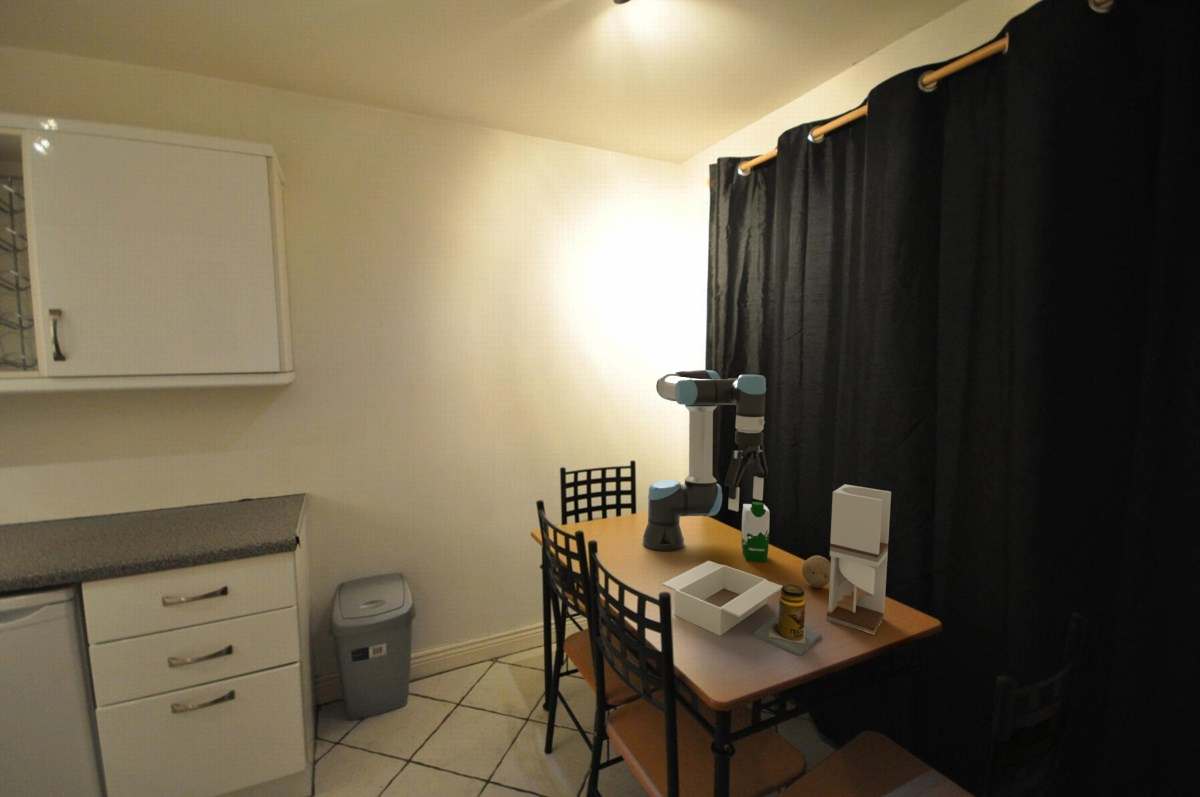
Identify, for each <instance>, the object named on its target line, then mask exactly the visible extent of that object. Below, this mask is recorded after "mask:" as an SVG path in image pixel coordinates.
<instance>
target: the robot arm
mask: <svg viewBox="0 0 1200 797" xmlns="http://www.w3.org/2000/svg"><path fill="white" fill-rule="evenodd" d="M737 377H738V378H737ZM737 377H736V378H734V377H731V378H725V379H723V378H721V377H720V374H719V373H718V372H717V371H715V370H708V369H694V370H693V369H685V370H683V369H678V370H677V369H676V370H670V371H667V372H665V373H663V374H661V375H660V376H659V377H658V379H657V381H656V386H655V387H656V392H657V394H658V396H660V397H661V398H662V399H664V400H667V401H670V402H676V403H677V404H678V405H684V406H685V408H686V410H688V413H689V414H688V416H689V417H688V418H689V419H688V421H689V423H688V435H689V438H688V475H687V476H686V477H685V478H684V484H681V482H680V481H679V480H676V479H663V480H662V479H661V480H658V481H654V482H653V483H651V484H650V485H649V488H648V493H647V494H648V495H647V501H648V503H647V504H648V505H647V506H648V507H647V509H648V510H647V512H648V513H647V525H646V528H645V531H644V533H643V537H642V545H644V546H645V547H646V548H648V549H650V550H654V551H659V552H660V551H661V552H672V551H679V550H681V549H682V548H684V544H685V538H684V536H683V532H682V529H681V524H680V520H681V519H680V518H681V517H703V518H704V517H709V516H710V517H711V516H715V515H717V514H718V513H719V511H720V509H721V507H722V503H723V491H722V486H721V485H720V484H718V483H717V479H716V478H715V477H714V476H713V447H714V446H713V443H714V442H713V440H714V438H713V437H714V436H713V425H714V424H713V423H714V421H713V418H714V414H713V413H714V410H716V408H717V407H718V406H719V405H720V406H723V405H728V406H729V405H735V406H736V411H735V425H734V426H735V427H734V428H735V429H736V430H735V432H734V434H735V435H734V443H735V444H736V445H738V450H736V449H735V450H734V449H733V450H732V451H731V457H730V461H729V466H728V467H727V468H728V469H727V473H726V476H725V480H724V483H723V484H724V485H723V486H727V487H728V490H729V491H728V503H727V504H728V505H727V506H728V507H727V509H728V510H731V511H735V512H739V511H740V509H739V507H740V506H739V504H740V489H741V488H740V487H739V484H740V483H741V482H740V481H741V479H742V478H743V475H744V473H745V470H746V469H747V468H748V467H749V465H750V466H751V469H752V470H753V472H754V474H755V476H753V487H752V499H755V500H757V501H763V497H764V478H765V479H767V478H768V476H769V475H768V474H769V468H768V464H767V459H766V454H765V445H764V431H763V430H764V428H765V427H764V425H765V423H766V421H765V407H766V405H765V404H766V394H767V393H766V392H767V387H766V386H767V385H766V384H767V380H766V377H765V376H764V375H760V374H740V375H739V376H737Z"/></svg>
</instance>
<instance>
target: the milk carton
mask: <svg viewBox="0 0 1200 797" xmlns="http://www.w3.org/2000/svg"><path fill="white" fill-rule="evenodd" d="M770 514H771V512H770V509H769V508H768V506H766V505H765V503H763V502H761V501H752V502H751V503H743V504H742V514H741V516H742V517H741V551H742V553H741V554H742V555H743V557H744V559H745V561H746V562H760V563H761V562H762V563H767V562H768V555H769V554H768V553H769V547H770V546H769V541H770Z"/></svg>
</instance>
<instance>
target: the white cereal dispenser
mask: <svg viewBox="0 0 1200 797" xmlns="http://www.w3.org/2000/svg"><path fill="white" fill-rule="evenodd" d="M891 499H892V491H889V490H882V489H876V488H870V487H863V486H857V485H851V484H845V483H844V484H843V485H842V486H839V487H838V488H837V489H835V490H834V491H832V501H831V503H832V504H831V521H830V522H831V523H830V527H831V528H830V544H829V545H830V546H829V557H830V563H831V568H830V582H829V593H828V611H827V612H826V621H828V620H830V621H829V622H831V621H833V622H832V623H834V622H836V623H835V624H837V623H839V624H838V625H840V624H843V625H847V626H849V627H853V628H857V629H861V630H865V631H868V632H871V633H874V632H875V630H876V629H877V627H878V626H879V624H880V623H881V621H882V619H883V618H884V619H885V603H886V589H887V588H886V585H887V571H888V570H887V569H888V568H887V567H888V555H889V554H888V553H889V549H888V548H889V536H890V520H891V519H890V518H891V501H892V500H891ZM882 622H883V621H882ZM881 624H882V623H881ZM843 625H842V626H843ZM849 627H848V628H849ZM879 627H880V626H879ZM877 630H878V629H877Z"/></svg>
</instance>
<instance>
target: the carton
mask: <svg viewBox="0 0 1200 797" xmlns="http://www.w3.org/2000/svg"><path fill="white" fill-rule="evenodd" d="M661 586H662V587H665V588H667V589H669V590H672V591H674V593H675V594H674V616H676V617H678V618H680V619H682V620H685V621H687V622H689V623H691V624H694V625H696V626H698V627H700V628H702V629H705V630H706V631H709V632H711V633H713V634H715V635H718V636H720V637H721V636H722V635H723V634H725V633H726V632H727V631H729V630H731V629H732V628H734V626H736V625H738V624H739V623H741V622H742V621H744V620H745V619H747V617H749V616H751V615H752V614H753V613H755V612H756V611H758V610H759V609H761V608H762V607H763V606H765V605H767V603H768V601H767V600H768V599H770V598H771V597H772V596H774V595H775V594H777V593H778V592H779V591H782V586H783V585H781V584H777V583H776V582H773V581H769V580H768V579H766V578H763V577H761V576H758V575H755V574H752V573H749V572H747V571H743V570H740V569H736V568H734V567H731V566H728V565H725V564H719V563H717V562H713V561H711V560H706V561H705V562H702V563H701V564H698V565H697V566H695V567H693V568H690V569H688V570H687V571H684V572H682V573H681V574H679V575H676V576H674V577H673V578H670V579H668V580H667V581H664V582H662V583H661ZM723 589H725V590H727V591H730V592H732V593H735V594H738V596H736V597H735V598H733V599H731V600H730V601H728V602H726V603H725V604H724V605H722V606H718V605H715V604H713V603H710V602H708V601H706V599H708V598H710V597H711V596H713V595H715V594H717V593H718V592H720V591H721V590H723Z"/></svg>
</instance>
